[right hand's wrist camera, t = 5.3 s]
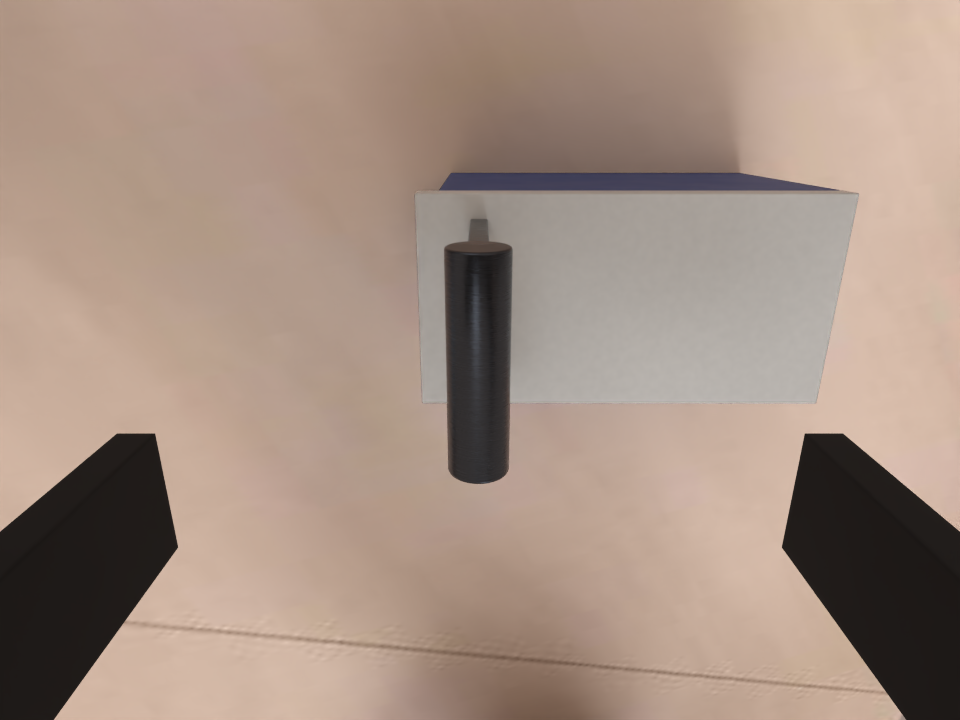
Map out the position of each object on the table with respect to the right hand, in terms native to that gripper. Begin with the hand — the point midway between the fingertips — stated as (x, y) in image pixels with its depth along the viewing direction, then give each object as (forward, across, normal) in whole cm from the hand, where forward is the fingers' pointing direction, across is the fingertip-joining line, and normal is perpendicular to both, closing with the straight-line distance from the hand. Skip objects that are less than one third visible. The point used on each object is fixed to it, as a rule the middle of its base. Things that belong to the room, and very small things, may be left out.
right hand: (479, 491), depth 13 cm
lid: (+16, +6, 0) cm, 17 cm away
